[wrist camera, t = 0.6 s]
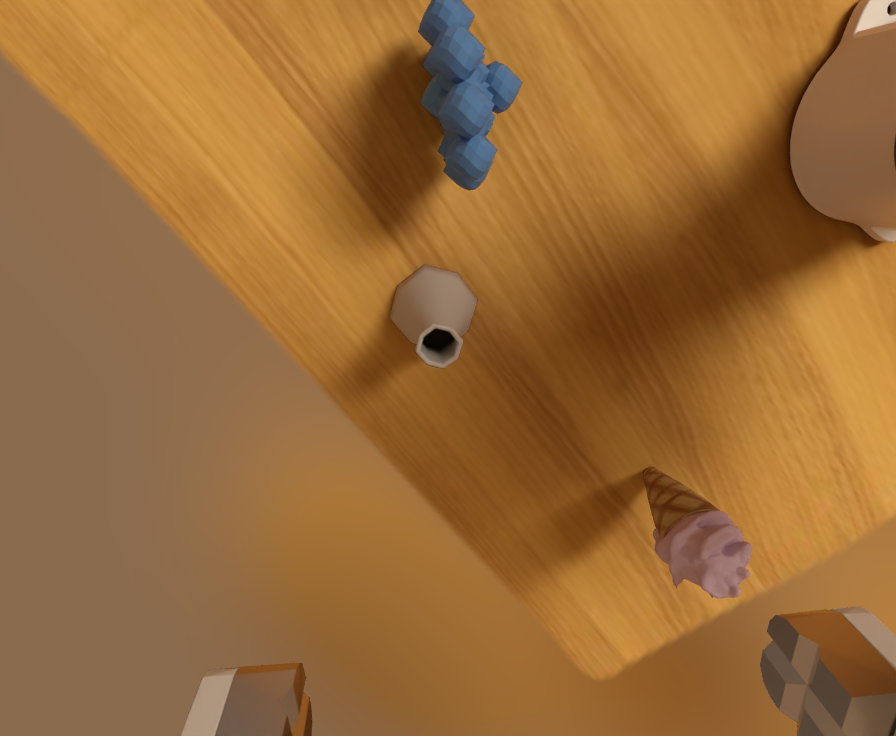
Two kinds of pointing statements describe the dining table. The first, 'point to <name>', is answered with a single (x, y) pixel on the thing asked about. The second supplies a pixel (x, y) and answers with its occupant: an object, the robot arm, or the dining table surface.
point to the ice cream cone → (696, 537)
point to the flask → (434, 313)
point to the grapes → (463, 91)
